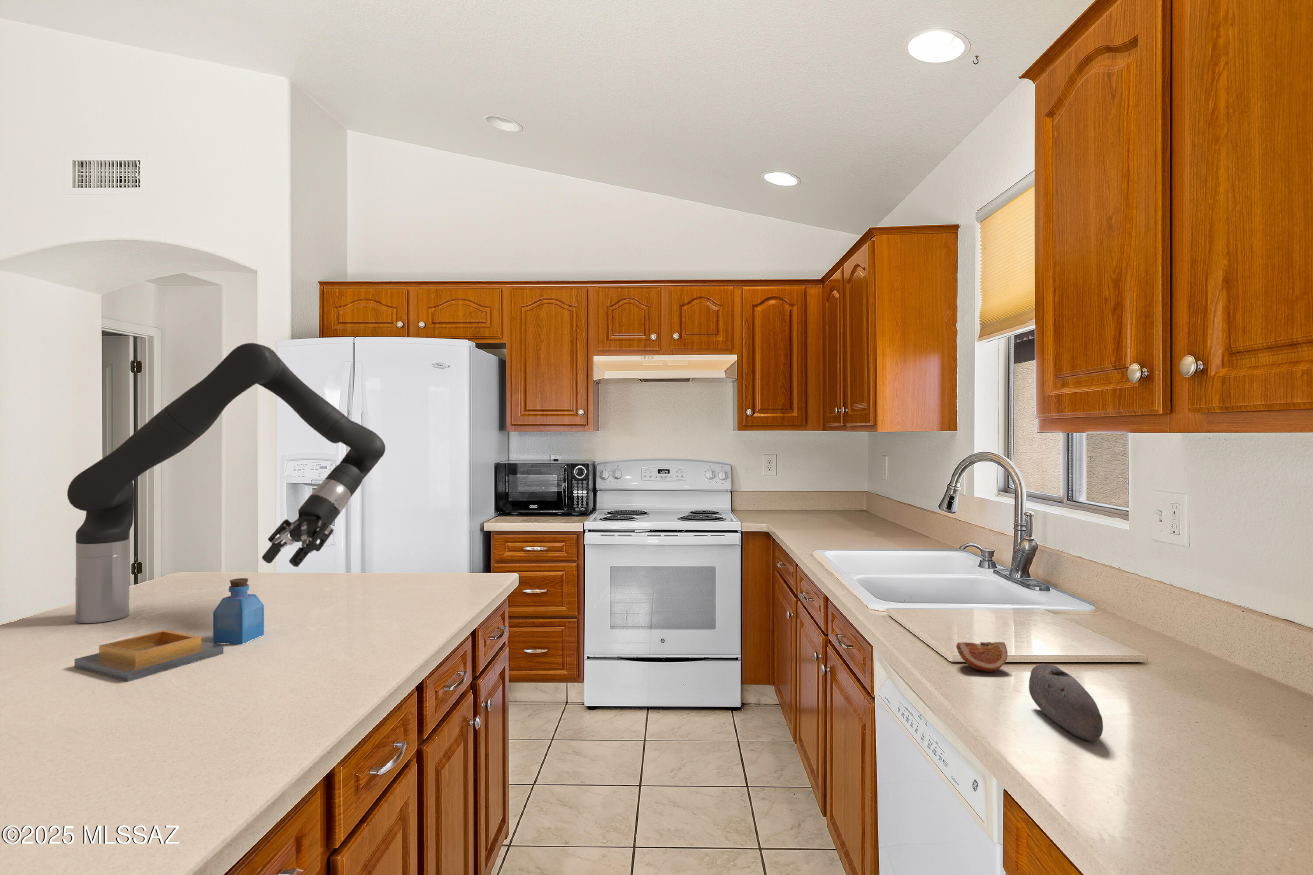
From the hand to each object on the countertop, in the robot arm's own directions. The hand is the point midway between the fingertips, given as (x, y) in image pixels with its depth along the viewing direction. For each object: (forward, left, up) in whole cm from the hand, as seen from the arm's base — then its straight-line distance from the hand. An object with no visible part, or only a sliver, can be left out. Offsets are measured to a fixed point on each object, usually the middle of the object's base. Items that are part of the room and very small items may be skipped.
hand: (279, 562), depth 144 cm
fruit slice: (+135, +36, -14) cm, 141 cm away
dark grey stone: (+146, +15, -14) cm, 148 cm away
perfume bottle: (0, -9, -14) cm, 17 cm away
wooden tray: (-2, -24, -14) cm, 28 cm away
